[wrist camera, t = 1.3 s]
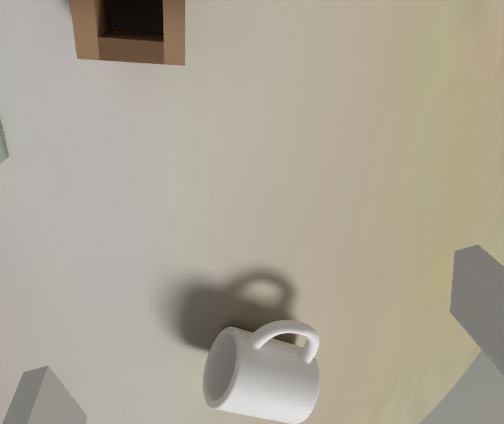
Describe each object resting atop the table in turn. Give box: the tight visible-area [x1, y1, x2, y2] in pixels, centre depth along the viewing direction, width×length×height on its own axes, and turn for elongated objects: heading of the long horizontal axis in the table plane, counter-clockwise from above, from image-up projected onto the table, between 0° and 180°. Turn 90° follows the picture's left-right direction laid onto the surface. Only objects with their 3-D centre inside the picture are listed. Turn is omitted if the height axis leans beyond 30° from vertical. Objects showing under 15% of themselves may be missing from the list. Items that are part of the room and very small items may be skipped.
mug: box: [203, 320, 320, 424], centre depth 40 cm, size 12×10×8 cm
